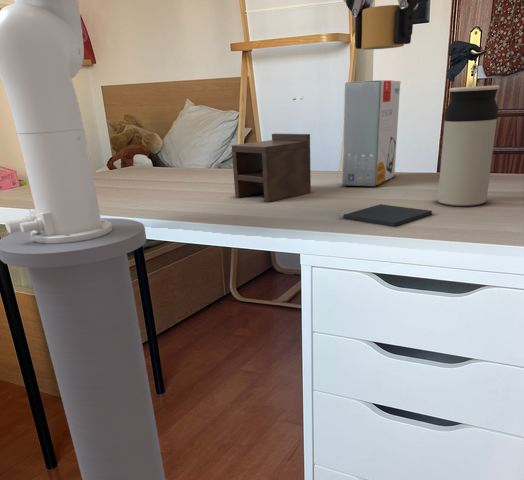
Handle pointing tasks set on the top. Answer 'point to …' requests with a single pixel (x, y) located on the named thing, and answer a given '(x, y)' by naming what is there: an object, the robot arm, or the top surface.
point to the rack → (273, 167)
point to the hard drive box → (370, 132)
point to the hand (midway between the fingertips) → (382, 44)
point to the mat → (387, 215)
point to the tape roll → (379, 27)
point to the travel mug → (468, 145)
